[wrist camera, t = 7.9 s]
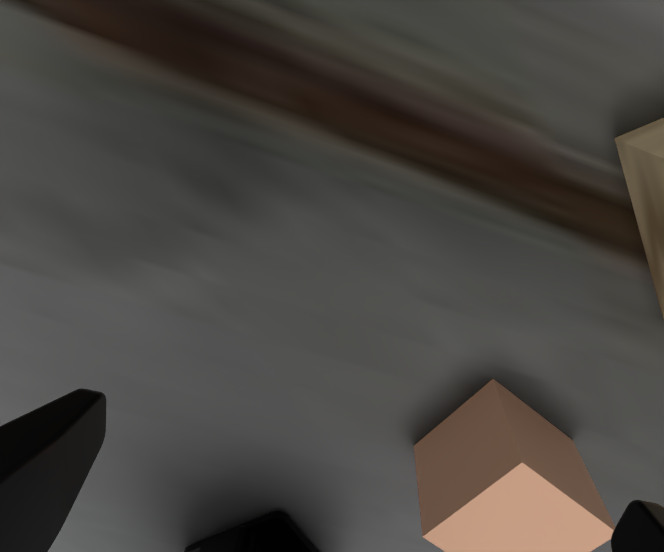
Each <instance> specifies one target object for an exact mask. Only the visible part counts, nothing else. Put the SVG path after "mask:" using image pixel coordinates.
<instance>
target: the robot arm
mask: <svg viewBox="0 0 664 552" xmlns="http://www.w3.org/2000/svg"><path fill="white" fill-rule="evenodd" d="M105 432H106V397H105V395H104V394H103V393H102V392H98V391H93V390H88V389H78V390H75V391H73V392H71V393H69V394H67V395H65V396H62V397H60V398H58V399H56V400H54V401H52V402H50V403H48V404H46V405H44V406H42V407H40V408H37V409H35V410H33V411H31V412H29V413H27V414H25V415H23V416H21V417H19V418H17V419H15V420H12V421H10V422H8V423H6V424H4V425H2V426H0V552H47V551H48V550H49V548H50V547H51V545H52V543H53V542H54V540H55V538H56V537H57V535H58V533H59V531H60V530H61V528H62V526H63V524H64V522H65V520H66V518H67V516H68V514H69V512H70V510H71V508H72V506H73V504H74V502H75V500H76V498H77V496H78V493H79V491H80V489H81V487H82V485H83V483H84V481H85V479H86V477H87V475H88V473H89V471H90V469H91V467H92V465H93V463H94V461H95V459H96V457H97V454H98V452H99V450H100V448H101V446H102V444H103V441H104V437H105ZM277 521H279V522H277ZM611 548H612V552H664V507H662V506H661V505H659V504H656V503H651V502H646V501H641V500H634V501H632V502H631V503H629V505H628V506H627V508H626V510H625V511H624V513H623V515H622V517H621V518H620V520H619V522H618V524H617V525H616V527H615V529H614V531H613V533H612V537H611ZM184 552H318V551H317V550H316V549H315V548H314V546H313V545H312V544H311V543H310V542H309V540H308V539H307V538H306V537H305V536H304V534H303V533H302V532H301V531H300V530H299V529H298V527H297V526H296V525H295V524H294V523H293V521H292V520H291V519H290V518H289V517H288V515H286V514H285V513H284V512H281V511H275V512H272V513H269V514H267V515H264V516H262V517H259V518H257V519H255V520H252V521H250V522H247V523H245V524H242V525H240V526H237V527H235V528H232V529H230V530H227V531H225V532H223V533H220V534H218V535H215V536H213V537H210V538H208V539H205V540H203V541H200V542H198V543H195V544H193V545H190V546H188V547H187V548H186V549H185V551H184Z"/></svg>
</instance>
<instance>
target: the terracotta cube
mask: <svg viewBox="0 0 664 552" xmlns="http://www.w3.org/2000/svg"><path fill="white" fill-rule="evenodd" d="M414 453H415V463H416V474H417V484H418V494H419V504H420V515H421V525H422V535H423V537H424V538H425V539H427V540H428V541H430V542H431V543H433V544H434V545H436V546H437V547H439V548H440V549H442V550H443V551H445V552H591V551H592V550H594V549H595V548H597V547H598V546H600V545H602V544H603V543H605V542H606V541H608V540H610V539H611V537H612V533H613V531H614V529H615V525H614V523H613V521H612V519H611V517H610V515H609V513H608V511H607V509H606V507H605V505H604V503H603V501H602V499H601V497H600V495H599V493H598V491H597V489H596V487H595V485H594V483H593V481H592V479H591V477H590V475H589V473H588V470H587V468H586V466H585V464H584V462H583V460H582V458H581V456H580V454H579V452H578V450H577V448H576V446H575V444H574V442H573V440H572V439H570V438H569V437H568V436H566V435H565V434H564V433H563V432H561V431H560V430H559V429H557V428H556V427H555V426H554V425H552V424H551V423H550V422H548V421H547V420H546V419H545V418H543V417H542V416H541V415H539V414H538V413H537V412H535V411H534V410H533V409H532V408H530V407H529V406H528V405H526V404H525V403H524V402H523V401H521V400H520V399H519V398H517V397H516V396H515V395H514V394H512V393H511V392H510V391H508V390H507V389H506V388H505V387H503V386H502V385H501V384H499V383H498V382H497V381H496V380H494V379H492V380H491V381H490V382H488V383H487V384H486V385H485V386H484V387H483V388H481V389H480V390H479V391H478V392H477V393H476V394H474V395H473V396H472V397H471V398H470V399H468V400H467V401H466V402H465V403H464V404H463V405H461V406H460V407H459V408H458V409H457V410H455V411H454V412H453V413H452V414H451V415H450V416H448V417H447V418H446V419H445V420H444V421H443V422H441V423H440V424H439V425H438V426H437V427H435V428H434V429H433V430H432V431H431V432H430V433H428V434H427V435H426V436H425V437H424V438H422V439H421V440H420V441H419V442H418V443H417V444H415V445H414Z"/></svg>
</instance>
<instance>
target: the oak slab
mask: <svg viewBox="0 0 664 552" xmlns="http://www.w3.org/2000/svg"><path fill="white" fill-rule="evenodd" d="M614 139H615V142H616V146H617V150H618V153H619V157H620V161H621V165H622V168H623V172H624V176H625V179H626V183H627V187H628V190H629V194H630V198H631V201H632V205H633V209H634V213H635V216H636V220H637V224H638V227H639V231H640V235H641V238H642V242H643V246H644V249H645V253H646V257H647V261H648V264H649V268H650V272H651V275H652V279H653V283H654V286H655V290H656V294H657V297H658V301H659V305H660V309H661V312H662V316H663V320H664V118H661V119H659V120H657V121H654V122H652V123H649V124H647V125H645V126H642V127H640V128H638V129H635V130H633V131H630V132H628V133H626V134H623V135H621V136H618V137H616V138H614Z"/></svg>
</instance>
